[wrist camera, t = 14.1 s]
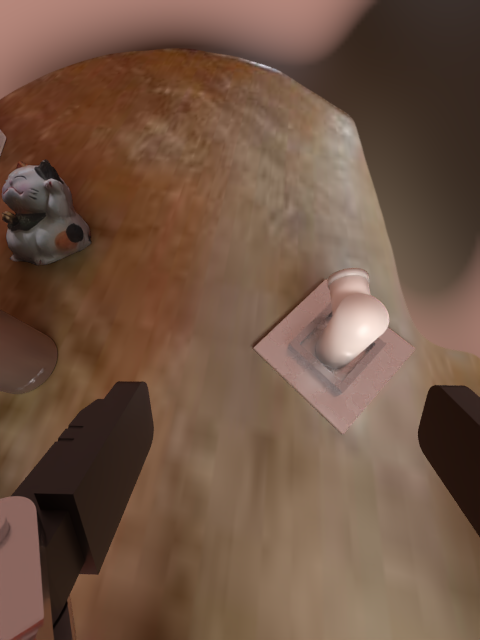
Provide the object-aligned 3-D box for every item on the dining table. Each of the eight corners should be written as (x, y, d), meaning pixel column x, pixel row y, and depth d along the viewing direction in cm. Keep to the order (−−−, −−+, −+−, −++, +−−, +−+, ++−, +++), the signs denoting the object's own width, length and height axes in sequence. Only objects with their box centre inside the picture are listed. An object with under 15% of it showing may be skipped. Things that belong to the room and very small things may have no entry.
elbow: (355, 368, 41) (393, 339, 30) (316, 368, 41) (340, 338, 30) (347, 310, 45) (379, 264, 33) (312, 310, 45) (331, 265, 34)
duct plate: (253, 349, 43) (253, 343, 41) (324, 281, 47) (329, 272, 45) (341, 434, 39) (347, 433, 36) (412, 350, 43) (423, 344, 40)
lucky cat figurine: (0, 257, 52) (-54, 168, 43) (65, 232, 59) (30, 153, 51) (45, 277, 44) (-8, 176, 36) (112, 247, 52) (81, 157, 44)
